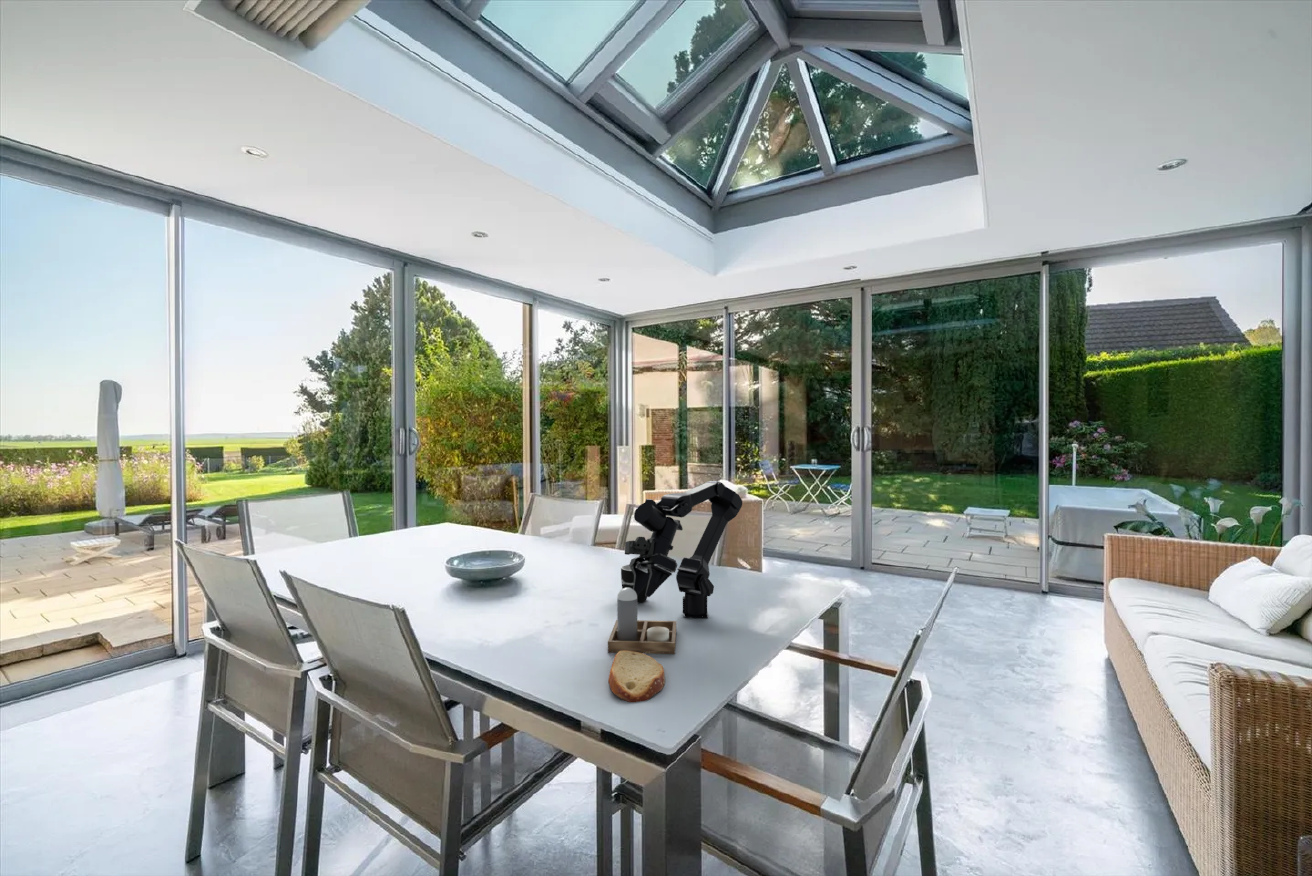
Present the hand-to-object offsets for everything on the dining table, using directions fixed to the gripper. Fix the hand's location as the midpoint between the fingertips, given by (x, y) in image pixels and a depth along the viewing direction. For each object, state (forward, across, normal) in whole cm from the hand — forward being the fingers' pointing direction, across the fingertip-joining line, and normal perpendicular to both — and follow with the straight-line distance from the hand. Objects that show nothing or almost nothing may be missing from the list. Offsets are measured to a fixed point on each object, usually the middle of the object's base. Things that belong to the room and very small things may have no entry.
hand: (640, 596), depth 142 cm
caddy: (+10, 0, +5) cm, 11 cm away
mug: (-3, -30, +11) cm, 32 cm away
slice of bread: (+19, +18, -2) cm, 26 cm away
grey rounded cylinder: (+12, +2, 0) cm, 12 cm away
